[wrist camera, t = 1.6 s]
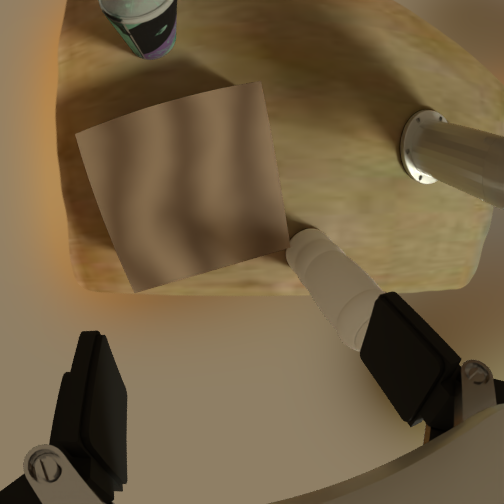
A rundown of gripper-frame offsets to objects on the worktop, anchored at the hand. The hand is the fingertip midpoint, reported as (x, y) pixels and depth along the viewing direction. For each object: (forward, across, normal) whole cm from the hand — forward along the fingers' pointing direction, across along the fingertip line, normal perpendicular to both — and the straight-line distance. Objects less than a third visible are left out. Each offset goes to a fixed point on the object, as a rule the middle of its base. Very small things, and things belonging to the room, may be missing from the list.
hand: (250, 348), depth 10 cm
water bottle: (+31, -16, +13) cm, 37 cm away
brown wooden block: (+31, +1, +1) cm, 31 cm away
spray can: (+31, +5, -17) cm, 35 cm away
